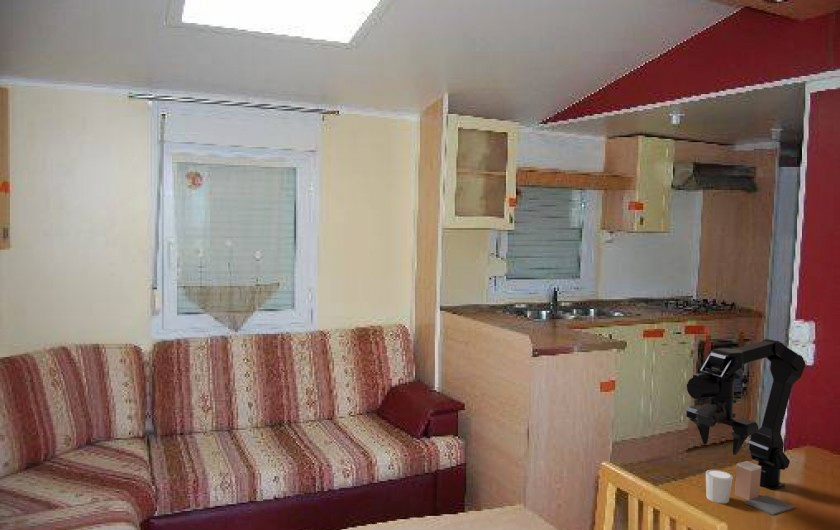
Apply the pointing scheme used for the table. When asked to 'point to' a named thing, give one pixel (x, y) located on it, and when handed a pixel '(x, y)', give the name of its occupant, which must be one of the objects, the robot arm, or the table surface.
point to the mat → (769, 505)
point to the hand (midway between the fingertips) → (719, 449)
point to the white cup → (718, 486)
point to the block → (747, 480)
